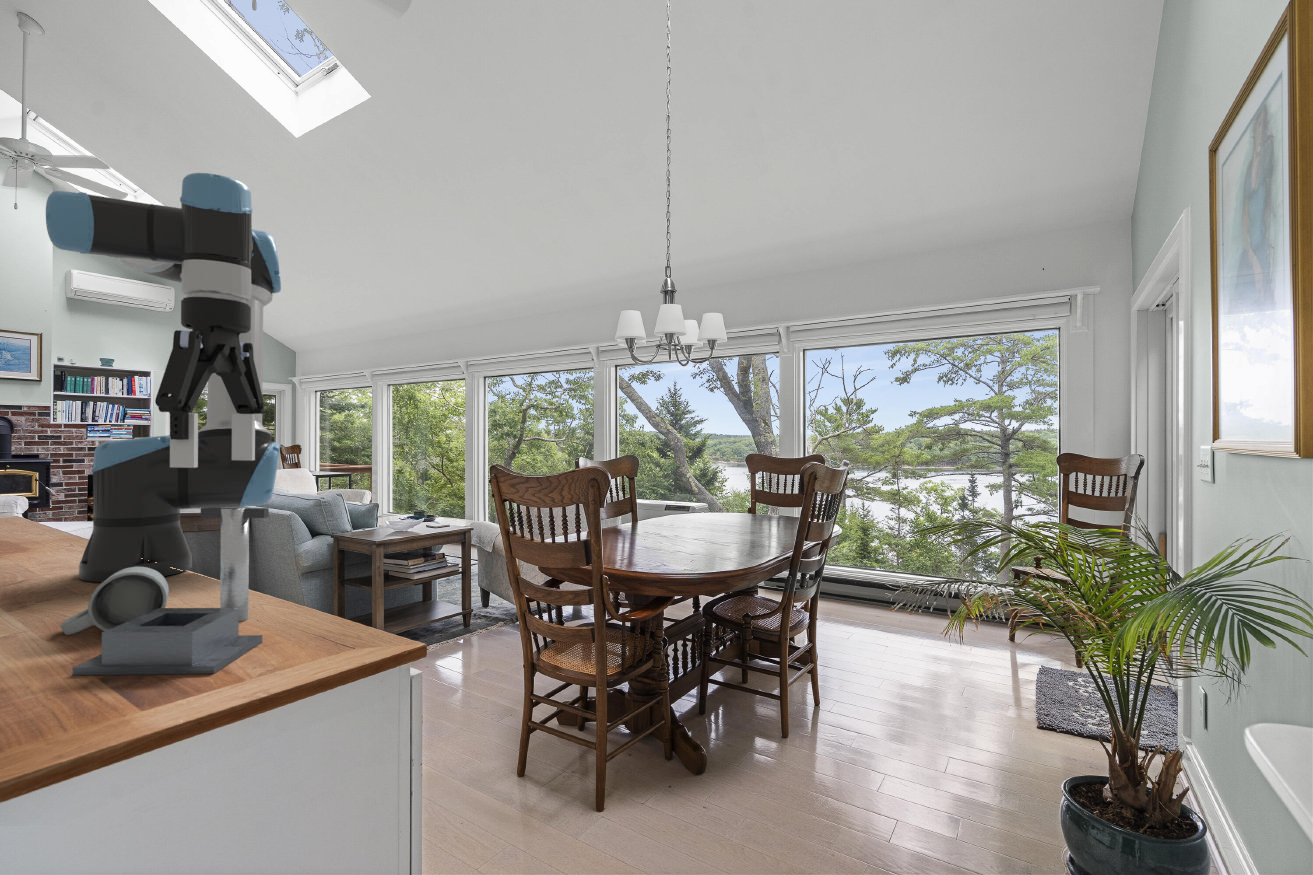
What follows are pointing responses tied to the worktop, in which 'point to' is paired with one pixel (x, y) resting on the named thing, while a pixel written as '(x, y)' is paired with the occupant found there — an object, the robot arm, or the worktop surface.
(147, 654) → the chuck block
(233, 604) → the t key
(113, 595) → the ceramic mug
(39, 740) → the worktop surface
